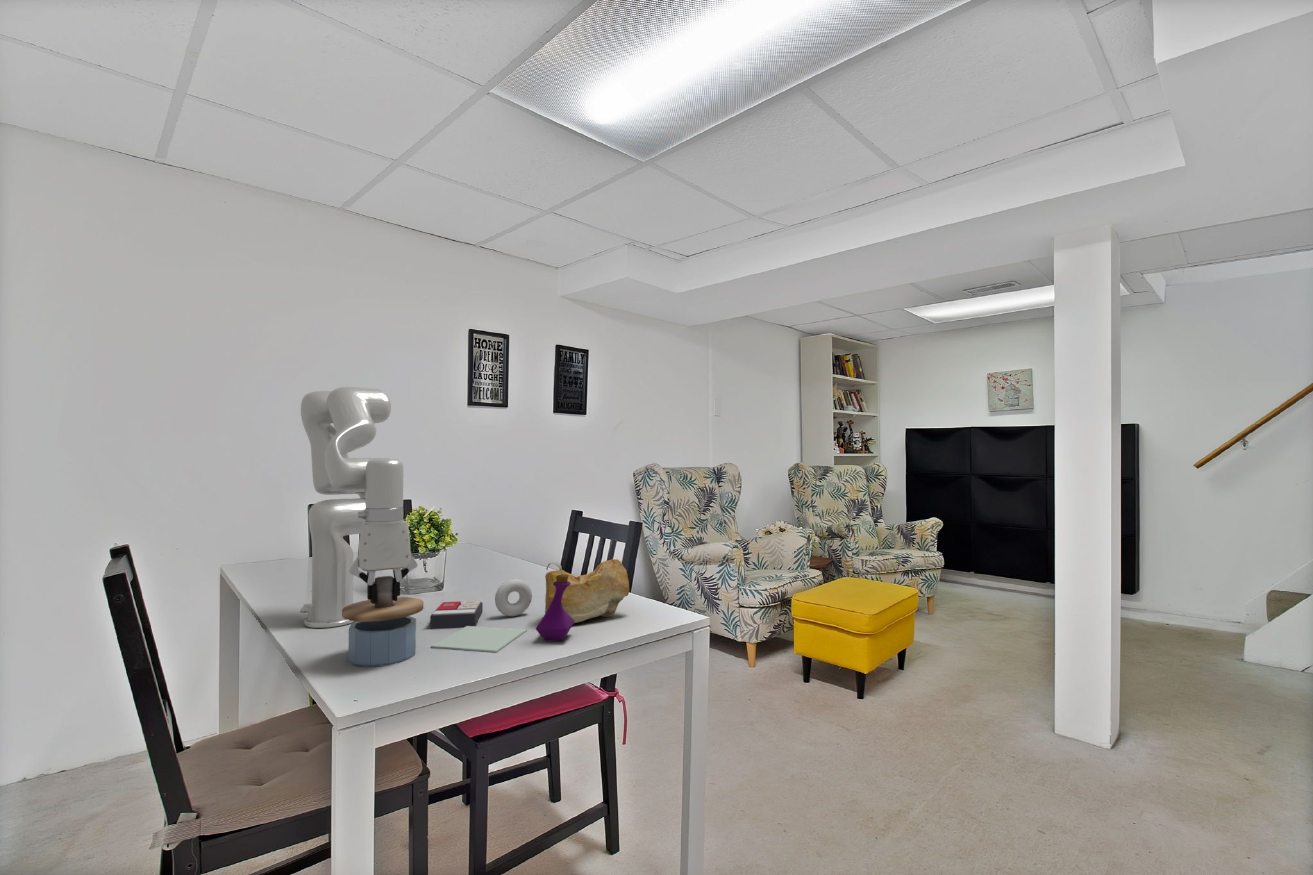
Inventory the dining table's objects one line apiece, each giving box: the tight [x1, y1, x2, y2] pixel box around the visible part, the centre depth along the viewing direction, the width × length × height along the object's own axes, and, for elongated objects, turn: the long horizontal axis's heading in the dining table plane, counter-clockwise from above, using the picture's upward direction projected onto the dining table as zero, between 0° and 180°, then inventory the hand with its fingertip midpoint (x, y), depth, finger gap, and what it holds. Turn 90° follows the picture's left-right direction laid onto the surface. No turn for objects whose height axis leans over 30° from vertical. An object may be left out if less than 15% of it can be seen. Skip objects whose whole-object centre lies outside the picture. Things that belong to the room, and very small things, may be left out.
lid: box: [342, 575, 425, 622], centre depth 130 cm, size 16×16×7 cm
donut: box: [494, 578, 533, 617], centre depth 162 cm, size 10×3×10 cm, turn 119°
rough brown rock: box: [544, 558, 630, 624], centre depth 162 cm, size 23×17×15 cm
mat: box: [430, 625, 528, 653], centre depth 142 cm, size 16×16×1 cm
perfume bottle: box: [535, 561, 575, 642], centre depth 143 cm, size 8×8×18 cm
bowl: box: [347, 615, 417, 668], centre depth 130 cm, size 13×13×7 cm
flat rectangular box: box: [429, 600, 484, 630], centre depth 158 cm, size 11×4×15 cm
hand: (383, 600), depth 130 cm, fingers closed on lid, 3 cm apart
